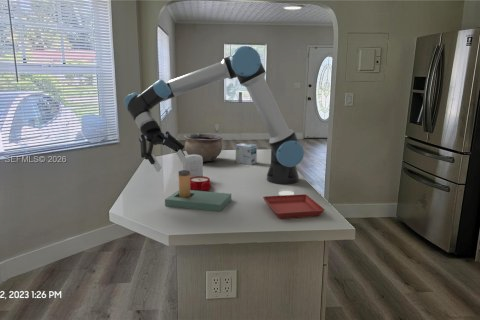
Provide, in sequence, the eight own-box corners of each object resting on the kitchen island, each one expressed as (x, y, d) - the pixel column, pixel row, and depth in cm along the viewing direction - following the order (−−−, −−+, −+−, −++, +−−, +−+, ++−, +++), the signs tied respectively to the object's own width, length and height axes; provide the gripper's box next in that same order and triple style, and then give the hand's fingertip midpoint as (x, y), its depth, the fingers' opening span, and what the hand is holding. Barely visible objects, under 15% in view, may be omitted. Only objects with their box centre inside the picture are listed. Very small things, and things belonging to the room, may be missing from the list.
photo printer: (200, 177, 181) (199, 152, 178) (204, 179, 178) (204, 154, 175) (180, 180, 175) (180, 155, 173) (184, 182, 172) (184, 156, 169)
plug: (192, 200, 148) (191, 170, 145) (187, 203, 143) (187, 173, 141) (182, 199, 149) (181, 169, 146) (177, 202, 144) (176, 172, 142)
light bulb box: (256, 163, 214) (257, 144, 212) (251, 165, 209) (251, 146, 206) (241, 160, 220) (241, 142, 217) (235, 162, 214) (235, 144, 212)
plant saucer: (325, 218, 130) (325, 209, 130) (276, 221, 127) (276, 212, 126) (305, 201, 148) (306, 193, 147) (262, 204, 144) (262, 196, 143)
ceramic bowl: (202, 155, 234) (202, 131, 231) (230, 160, 221) (230, 135, 218) (177, 161, 216) (176, 136, 213) (205, 166, 204) (205, 139, 200)
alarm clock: (210, 175, 171) (211, 177, 156) (211, 189, 171) (211, 191, 156) (188, 176, 170) (186, 177, 155) (188, 189, 170) (186, 192, 155)
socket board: (231, 199, 148) (231, 193, 148) (220, 211, 135) (220, 204, 134) (180, 194, 154) (180, 189, 153) (165, 205, 141) (164, 199, 140)
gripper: (168, 128, 164) (192, 166, 158) (118, 134, 145) (143, 178, 139) (175, 117, 160) (200, 156, 153) (124, 122, 141) (151, 166, 135)
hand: (173, 166), depth 146 cm, fingers open, 13 cm apart
